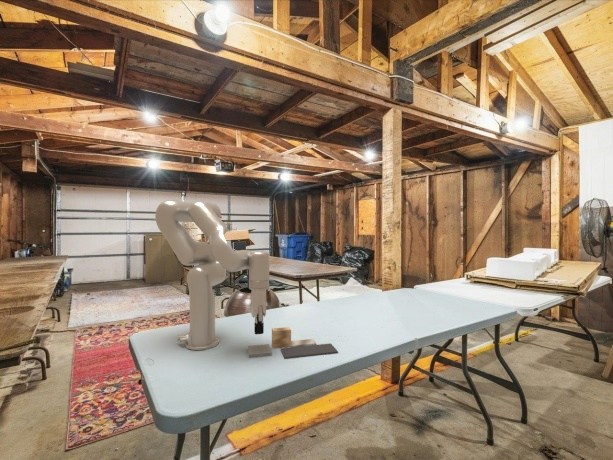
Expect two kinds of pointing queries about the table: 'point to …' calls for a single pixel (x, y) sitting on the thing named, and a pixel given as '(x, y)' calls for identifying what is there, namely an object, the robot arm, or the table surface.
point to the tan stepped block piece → (287, 339)
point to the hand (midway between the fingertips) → (258, 333)
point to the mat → (308, 351)
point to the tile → (259, 351)
